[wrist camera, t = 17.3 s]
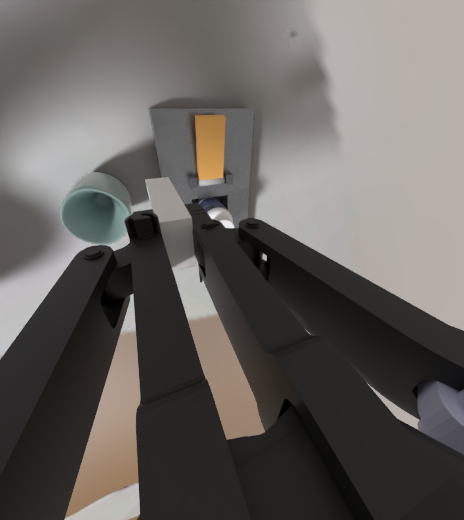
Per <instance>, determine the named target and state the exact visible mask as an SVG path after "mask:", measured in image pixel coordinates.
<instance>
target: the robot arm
mask: <svg viewBox="0 0 464 520" xmlns="http://www.w3.org/2000/svg"><path fill="white" fill-rule="evenodd" d="M145 182H146V187H147V191H148V196H149V201H150V205H151V210H144V211H137V212H134V213H133V214H132V215H130V216H128V217H127V218H126V219H125V221H124V222H125V225H126V228H127V232H128V235H129V238H130V243H129V244H128V245H127V246H125V247H124V248H121V249H119V250H116V251H113V250H112V248H111V247H109V246H106V245H98V246H91V247H88V248H86V249H84V250H82V251H80V252H79V253H78V254H77V255H76V256H75V257H74V259H73V260H72V261H71V263H70V264H69V266H68V267H67V268H66V270H65V271H64V272H63V274H62V275H61V277H60V278H59V279H58V281H57V282H56V284H55V285H54V286H53V288H52V289H51V290H50V292H49V293H48V295H47V296H46V297H45V299H44V300H43V302H42V303H41V304H40V306H39V307H38V308H37V310H36V311H35V313H34V314H33V315H32V317H31V318H30V320H29V321H28V322H27V324H26V325H25V326H24V328H23V329H22V331H21V332H20V333H19V335H18V336H17V337H16V339H15V340H14V342H13V343H12V344H11V346H10V347H9V349H8V350H7V351H6V353H5V354H4V355H3V357H2V358H1V360H0V520H64V519H65V515H66V512H67V509H68V505H69V502H70V499H71V495H72V492H73V489H74V485H75V482H76V479H77V475H78V472H79V469H80V465H81V462H82V459H83V455H84V452H85V448H86V445H87V442H88V439H89V435H90V432H91V429H92V425H93V422H94V419H95V415H96V412H97V408H98V405H99V402H100V399H101V395H102V392H103V388H104V385H105V382H106V378H107V375H108V372H109V369H110V365H111V362H112V359H113V355H114V352H115V348H116V345H117V342H118V338H119V335H120V332H121V328H122V325H123V322H124V318H125V315H126V312H127V308H128V305H129V302H130V295H131V294H133V293H134V308H135V322H136V336H137V350H138V365H139V379H140V393H141V401H140V405H139V406H138V408H137V413H136V435H137V456H138V475H139V476H138V477H139V497H140V515H139V517H138V519H137V520H464V331H463V330H460V329H457V328H455V327H452V326H449V325H447V324H445V323H444V322H442V321H440V320H438V319H436V318H435V317H433V316H431V315H429V314H428V313H426V312H424V311H422V310H421V309H419V308H417V307H415V306H413V305H412V304H410V303H408V302H406V301H404V300H403V299H401V298H399V297H397V296H396V295H394V294H392V293H390V292H388V291H387V290H385V289H383V288H381V287H379V286H378V285H376V284H374V283H372V282H370V281H369V280H367V279H365V278H363V277H362V276H360V275H358V274H356V273H354V272H353V271H351V270H349V269H347V268H346V267H344V266H342V265H340V264H338V263H337V262H335V261H333V260H331V259H329V258H328V257H326V256H324V255H322V254H321V253H319V252H317V251H315V250H313V249H312V248H310V247H308V246H306V245H304V244H303V243H301V242H299V241H297V240H295V239H294V238H292V237H290V236H288V235H287V234H285V233H283V232H281V231H279V230H278V229H276V228H274V227H272V226H270V225H269V224H267V223H265V222H263V221H261V220H259V219H255V218H248V219H244V220H242V221H240V222H239V228H225V227H224V225H223V224H222V223H221V222H220V221H218V220H215V219H211V217H210V216H209V215H208V213H207V212H206V210H205V209H204V208H203V206H202V205H200V204H198V203H190V204H184V203H183V201H182V200H181V198H180V196H179V195H178V193H177V191H176V189H175V188H174V186H173V184H172V183H171V181H170V179H169V177H163V178H153V179H145ZM263 253H264V254H265V255H267V261H265V260H263V259H262V256H263ZM196 259H197V261H198V264H199V274H200V282H202V278H203V281H204V283H205V285H206V288H207V290H208V292H209V294H210V297H211V299H212V301H213V303H214V306H215V308H216V310H217V312H218V315H219V317H220V319H221V321H222V324H223V326H224V328H225V331H226V333H227V335H228V337H229V340H230V342H231V344H232V346H233V349H234V351H235V353H236V355H237V358H238V360H239V362H240V364H241V367H242V369H243V371H244V374H245V376H246V378H247V380H248V383H249V385H250V387H251V389H252V392H253V394H254V397H255V399H256V402H257V407H258V412H259V416H260V419H261V422H262V424H263V427H264V430H265V433H263V434H261V435H256V436H249V437H242V438H236V439H229V440H226V437H225V434H224V431H223V427H222V424H221V421H220V418H219V414H218V411H217V408H216V405H215V401H214V398H213V395H212V392H211V389H210V386H209V384H208V381H207V380H206V378H205V376H204V373H203V370H202V367H201V364H200V360H199V357H198V354H197V351H196V347H195V344H194V341H193V337H192V334H191V330H190V328H189V324H188V320H187V317H186V314H185V310H184V307H183V304H182V300H181V297H180V294H179V290H178V287H177V284H176V281H175V277H174V274H173V271H174V270H179V269H183V268H188V267H192V266H196V265H197V263H196ZM305 329H306V330H307V331H308V332H309V333H310V334H311V335H310V334H309V333H308V332H307V331H306V330H305ZM312 335H313V336H312ZM366 382H367V383H368V384H369V385H370V386H371V387H373V388H374V389H375V390H376V391H378V392H379V393H380V394H381V395H383V396H384V397H385V398H387V399H388V400H390V401H391V402H393V403H394V404H395V405H397V406H398V407H400V408H401V409H403V410H404V411H406V412H408V413H409V414H411V415H413V416H414V417H416V418H418V419H419V422H418V429H419V430H417V429H415V428H413V427H412V426H410V425H408V424H406V423H404V422H402V421H400V420H399V419H397V418H396V417H395V416H394V415H393V414H392V413H391V411H390V410H389V409H388V408H387V407H386V406H385V404H384V403H383V402H382V401H381V400H380V398H379V397H378V396H377V395H376V394H375V392H374V391H373V390H372V389H371V388H370V387H369V385H368V384H367V383H366Z"/></svg>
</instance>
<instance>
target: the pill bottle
mask: <svg viewBox="0 0 464 520" xmlns="http://www.w3.org/2000/svg"><path fill="white" fill-rule="evenodd" d="M196 203H198V204H200V205H202V206H203V208H204V209H205V210H206V212H207V213H208V215H209V216H210V217H211V219H215V220H218V221H220V222H221V223H222V224H223V225H224V227H225V228H234V224H233V219H232V216H231V214H230V213H229V211H228V210H227V209H226V208H225V207H224V205H223V204H222V203H221V202H220V201H219V199H218V198H216V197H209V198H200V199H198V200H197V202H196Z"/></svg>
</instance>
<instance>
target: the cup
mask: <svg viewBox="0 0 464 520" xmlns="http://www.w3.org/2000/svg"><path fill="white" fill-rule="evenodd" d="M130 215H132V203H131V198H130V194H129V192H128V190H127V189H126V187H125V186H124V185H123V184H122V183H121V182H120V181H119V180H118V179H116V178H115V177H113V176H111V175H108V174H105V173H101V172H92V173H88V174H85V175H84V176H82V177H80V178H79V179H78V180H77V181H76V182H75V183H74V184H73V185H72V187H71V188H70V190H69V191H68V193H67V194H66V196H65V197H64V199H63V201H62V204H61V207H60V219H61V222H62V224H63V226H64V227H65V229H66V230H67V231H68V232H69V233H71V234H72V235H73V236H75V237H76V238H78V239H80V240H83V241H85V242H88V243H91V244H97V245H107V244H112V243H115V242H117V241H119V240H120V239H121V238H123V237H124V236H125V234H126V233H127V228H126V225H125V222H124V221H125V219H126V218H127V217H128V216H130Z"/></svg>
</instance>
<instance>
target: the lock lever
mask: <svg viewBox="0 0 464 520" xmlns="http://www.w3.org/2000/svg"><path fill="white" fill-rule="evenodd" d="M225 119H226V117H225V116H224V115H195V130H196V152H197V174H198V177H197V183H198V186H207V185H216V184H224V182H225V179H224V175H223V169H224V144H225Z"/></svg>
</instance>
